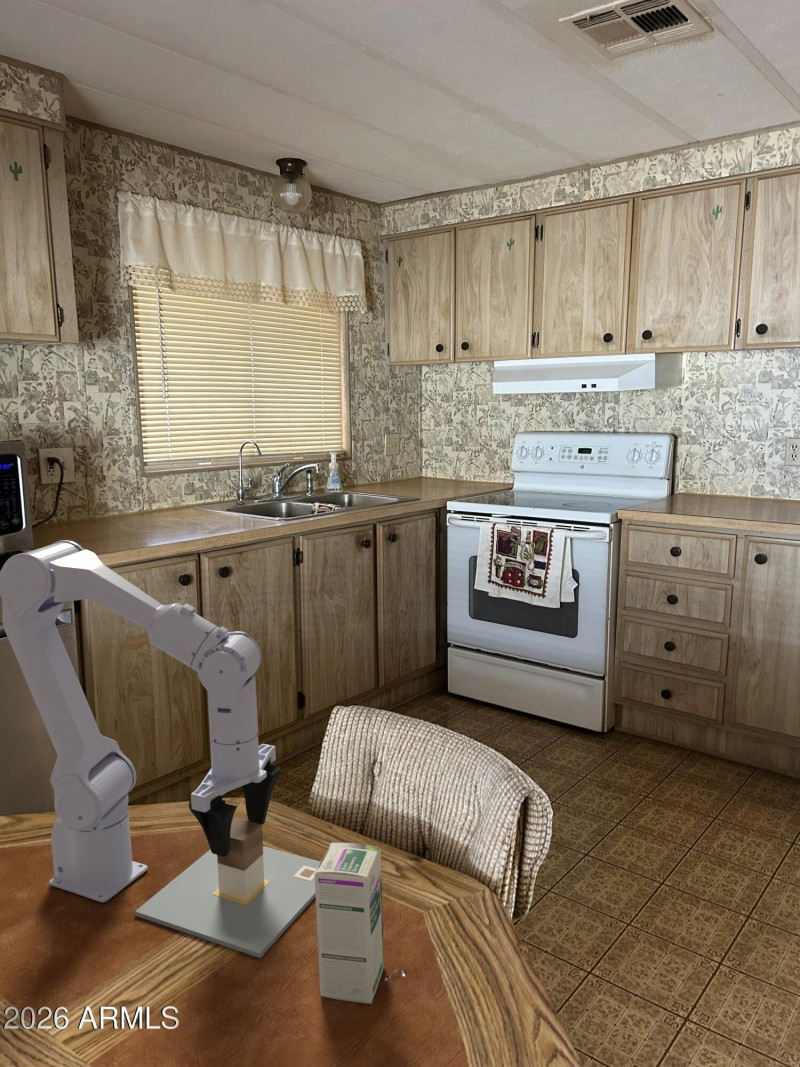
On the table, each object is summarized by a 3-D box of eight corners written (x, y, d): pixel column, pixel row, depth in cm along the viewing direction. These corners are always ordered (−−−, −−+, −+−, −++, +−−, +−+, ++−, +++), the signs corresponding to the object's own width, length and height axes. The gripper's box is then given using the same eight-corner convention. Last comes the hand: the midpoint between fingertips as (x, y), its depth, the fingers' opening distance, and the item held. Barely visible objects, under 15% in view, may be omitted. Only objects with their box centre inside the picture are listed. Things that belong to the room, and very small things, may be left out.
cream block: (219, 892, 99) (217, 863, 98) (238, 874, 103) (237, 846, 102) (245, 900, 97) (244, 871, 97) (264, 882, 101) (263, 853, 100)
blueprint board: (135, 915, 96) (134, 910, 96) (226, 840, 112) (226, 835, 112) (260, 958, 88) (260, 952, 88) (338, 870, 105) (338, 865, 104)
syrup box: (372, 1005, 81) (370, 877, 79) (317, 997, 83) (313, 870, 80) (384, 967, 87) (383, 845, 84) (332, 959, 88) (329, 839, 86)
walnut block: (217, 863, 98) (216, 833, 98) (237, 846, 102) (235, 817, 101) (244, 870, 97) (242, 840, 96) (263, 853, 100) (262, 824, 100)
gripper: (224, 766, 88) (229, 877, 91) (294, 717, 101) (297, 816, 104) (174, 754, 91) (180, 862, 94) (248, 709, 104) (252, 805, 107)
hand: (238, 837), depth 99 cm, fingers open, 7 cm apart
